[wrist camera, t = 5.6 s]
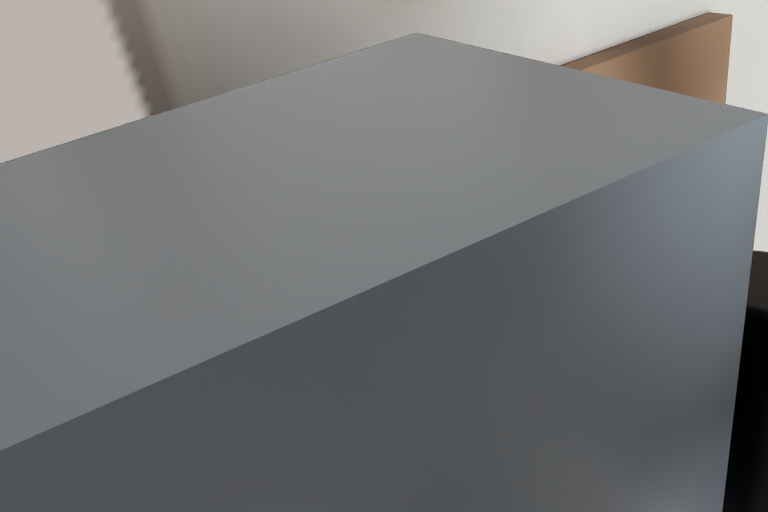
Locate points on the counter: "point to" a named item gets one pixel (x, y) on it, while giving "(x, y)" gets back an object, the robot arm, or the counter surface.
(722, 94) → the board
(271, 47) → the counter surface
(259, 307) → the grey block
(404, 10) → the counter surface
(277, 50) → the counter surface
